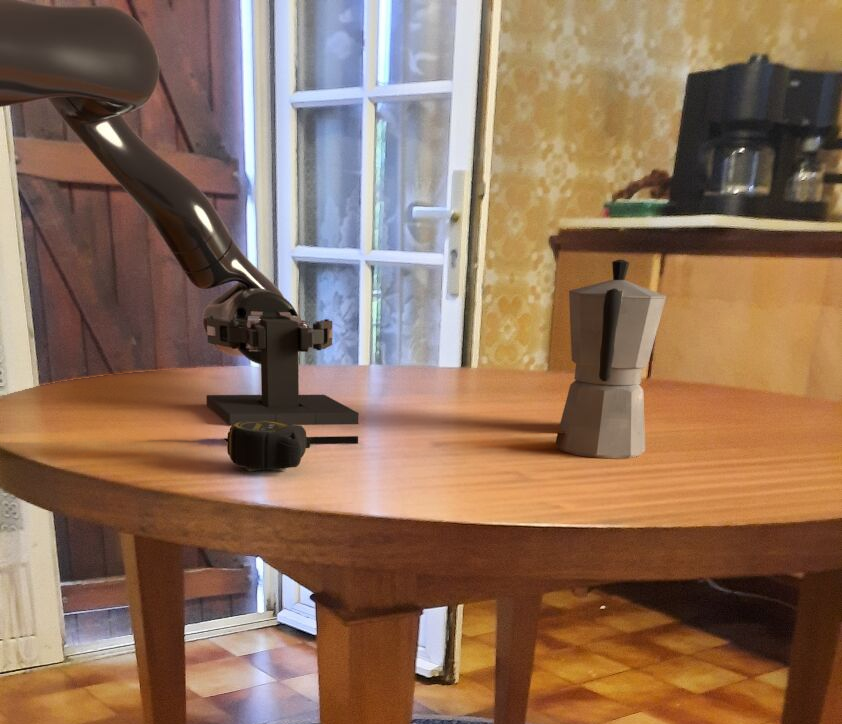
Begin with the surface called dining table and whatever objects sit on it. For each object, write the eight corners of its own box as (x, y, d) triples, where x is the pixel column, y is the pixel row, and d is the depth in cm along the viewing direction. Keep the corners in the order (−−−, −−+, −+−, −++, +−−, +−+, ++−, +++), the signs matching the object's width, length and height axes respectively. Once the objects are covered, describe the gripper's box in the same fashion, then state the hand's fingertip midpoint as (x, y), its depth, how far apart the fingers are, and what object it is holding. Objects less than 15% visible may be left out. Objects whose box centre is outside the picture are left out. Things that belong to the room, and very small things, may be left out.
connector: (268, 436, 110) (266, 321, 105) (262, 431, 113) (259, 318, 108) (299, 435, 111) (298, 322, 106) (292, 430, 114) (290, 319, 109)
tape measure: (300, 479, 91) (300, 434, 90) (220, 474, 92) (219, 429, 90) (310, 464, 98) (310, 421, 96) (236, 460, 98) (234, 417, 96)
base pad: (230, 445, 104) (229, 414, 103) (207, 424, 115) (206, 395, 114) (358, 443, 108) (358, 412, 107) (324, 422, 119) (324, 394, 118)
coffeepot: (560, 436, 117) (577, 256, 109) (647, 443, 116) (671, 261, 108) (544, 461, 104) (563, 257, 96) (643, 469, 102) (670, 263, 94)
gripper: (195, 287, 117) (208, 296, 102) (323, 291, 120) (354, 300, 105) (198, 359, 120) (212, 379, 105) (323, 361, 123) (353, 380, 108)
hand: (283, 339), depth 105 cm, fingers open, 3 cm apart
